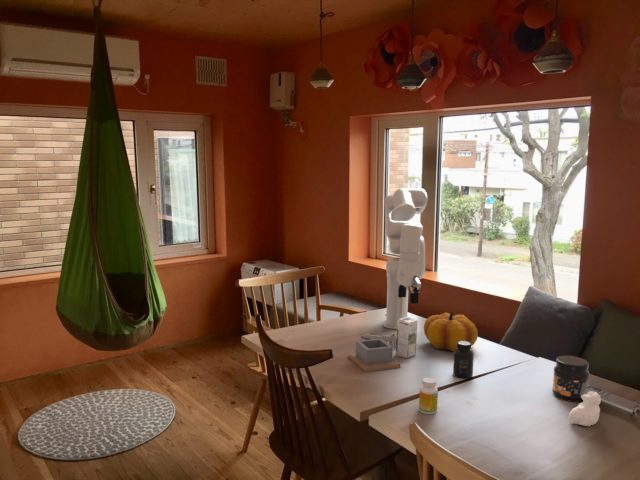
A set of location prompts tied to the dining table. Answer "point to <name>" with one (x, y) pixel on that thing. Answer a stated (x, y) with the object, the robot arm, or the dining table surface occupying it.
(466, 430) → the dining table surface
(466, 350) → the supplement bottle
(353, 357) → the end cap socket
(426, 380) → the supplement bottle
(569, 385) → the supplement container
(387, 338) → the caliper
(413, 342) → the syrup box
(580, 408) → the bust
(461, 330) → the decorative pumpkin
